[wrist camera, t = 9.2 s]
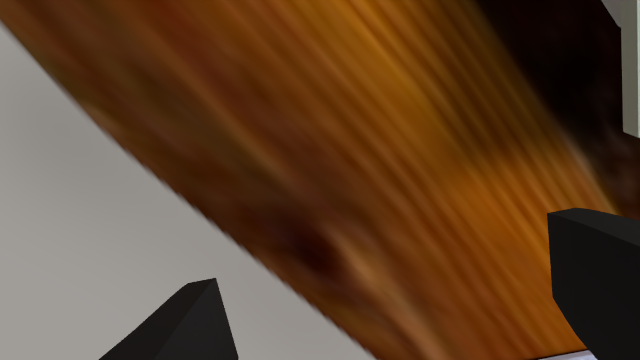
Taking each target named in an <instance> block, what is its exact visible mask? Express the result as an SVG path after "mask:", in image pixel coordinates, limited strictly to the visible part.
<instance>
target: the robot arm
mask: <svg viewBox="0 0 640 360" xmlns="http://www.w3.org/2000/svg"><path fill="white" fill-rule="evenodd" d="M547 219H548V234H549V249H550V264H551V279H552V294H553V298H554V300H555V302H556V303H557V305H558V307H559V308H560V310H561V312H562V313H563V315H564V317H565V318H566V320H567V321H568V323H569V324H570V326H571V327H572V329H573V331H574V332H575V334H576V335H577V336H578V337H579V339H580V340H581V341H582V342H583V343H584V345H585V346H586V347H587V348H588V349H589V350H587V351H582V352H577V353H571V354H566V355H561V356H555V357H550V358H545V359H540V360H640V221H637V220H633V219H629V218H625V217H621V216H617V215H613V214H609V213H605V212H600V211H595V210H590V209H583V208H572V209H567V210H562V211H556V212H551V213H547ZM99 360H238V354H237V351H236V347H235V344H234V340H233V337H232V333H231V330H230V326H229V323H228V319H227V316H226V312H225V308H224V305H223V302H222V298H221V294H220V291H219V287H218V284H217V281H216V278H213V279H207V280H202V281H197V282H192V283H188V284H186V285H185V286H184V287H182V288H181V289H180V290H179V291H177V292H176V293H175V294H174V295H173V296H171V297H170V298H169V299H168V300H167V301H166V302H165V303H164V304H162V305H161V306H160V307H159V308H158V309H157V310H156V311H155V312H154V313H153V314H152V315H151V316H149V317H148V318H147V319H146V320H145V321H144V322H143V323H142V324H140V325H139V326H138V327H137V328H136V329H135V330H134V331H133V332H131V333H130V334H129V335H128V336H127V337H126V338H124V339H123V340H122V341H121V342H119V343H118V344H117V345H116V346H114V347H113V348H112V349H111V350H110V351H108V352H107V353H106V354H105V355H104V356H102V357H101V358H100V359H99Z"/></svg>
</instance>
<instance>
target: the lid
mask: <svg viewBox="0 0 640 360" xmlns="http://www.w3.org/2000/svg"><path fill="white" fill-rule="evenodd" d="M621 45H622V96H623V132H625V133H628V134H630V135H633V136H636V137H638V138H639V137H640V0H621Z"/></svg>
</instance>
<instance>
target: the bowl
mask: <svg viewBox="0 0 640 360" xmlns="http://www.w3.org/2000/svg"><path fill="white" fill-rule="evenodd" d="M601 1H602V2H603V4H604V5H605V7H606V8H607V10H608V12H609V13H610V15H611V16H612V18H613V19H614V21H615V22H616V24H617V25H618V26H619V27H621V0H601Z"/></svg>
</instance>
